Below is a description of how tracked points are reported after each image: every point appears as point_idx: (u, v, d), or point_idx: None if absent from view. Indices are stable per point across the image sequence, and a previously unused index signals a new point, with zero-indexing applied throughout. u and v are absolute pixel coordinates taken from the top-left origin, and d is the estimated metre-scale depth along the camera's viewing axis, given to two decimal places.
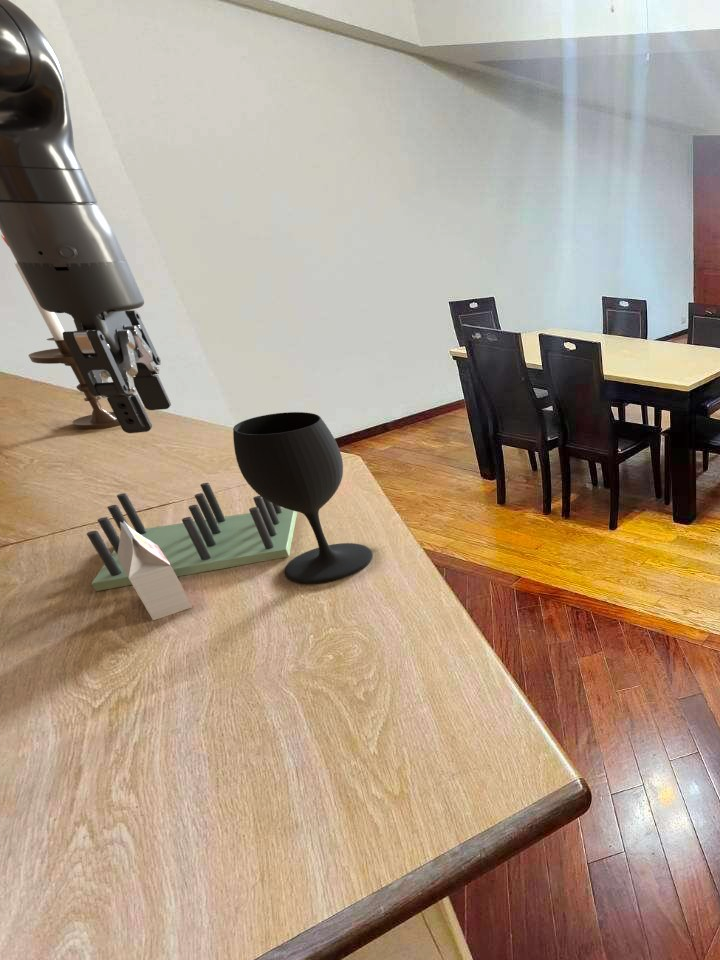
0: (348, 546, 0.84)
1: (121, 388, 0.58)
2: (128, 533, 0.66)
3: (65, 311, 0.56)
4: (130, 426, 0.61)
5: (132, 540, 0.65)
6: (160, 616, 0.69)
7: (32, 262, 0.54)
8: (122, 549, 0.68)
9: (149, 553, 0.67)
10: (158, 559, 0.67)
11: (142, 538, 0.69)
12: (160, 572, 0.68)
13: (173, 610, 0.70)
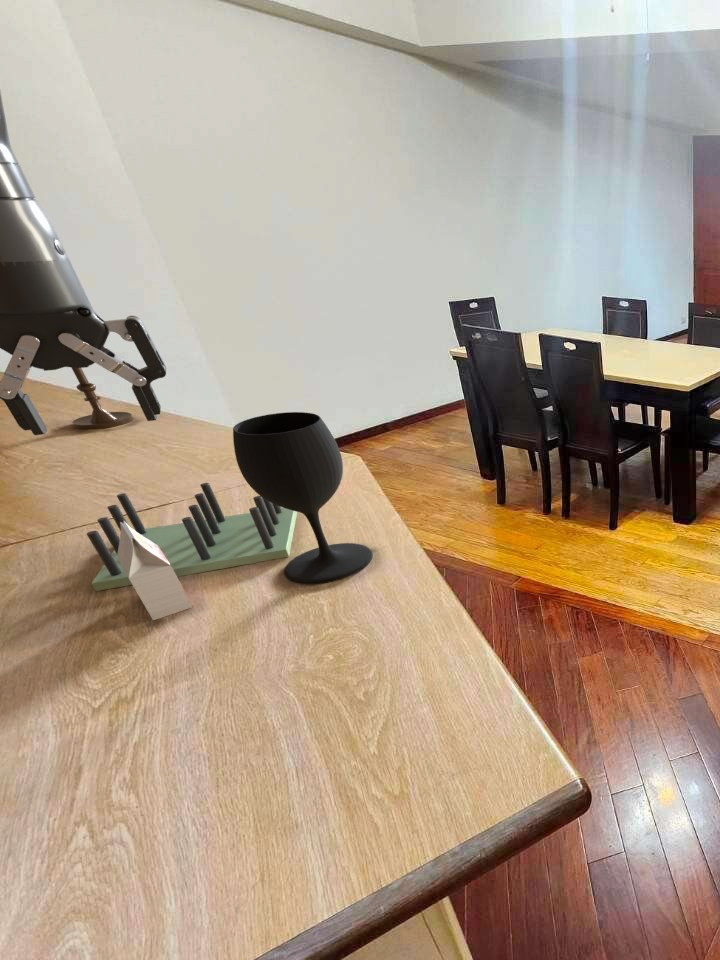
0: (348, 546, 0.84)
1: None
2: (128, 533, 0.66)
3: None
4: None
5: (132, 540, 0.65)
6: (160, 616, 0.69)
7: None
8: (122, 549, 0.68)
9: (149, 553, 0.67)
10: (158, 559, 0.67)
11: (142, 538, 0.69)
12: (160, 572, 0.68)
13: (173, 610, 0.70)
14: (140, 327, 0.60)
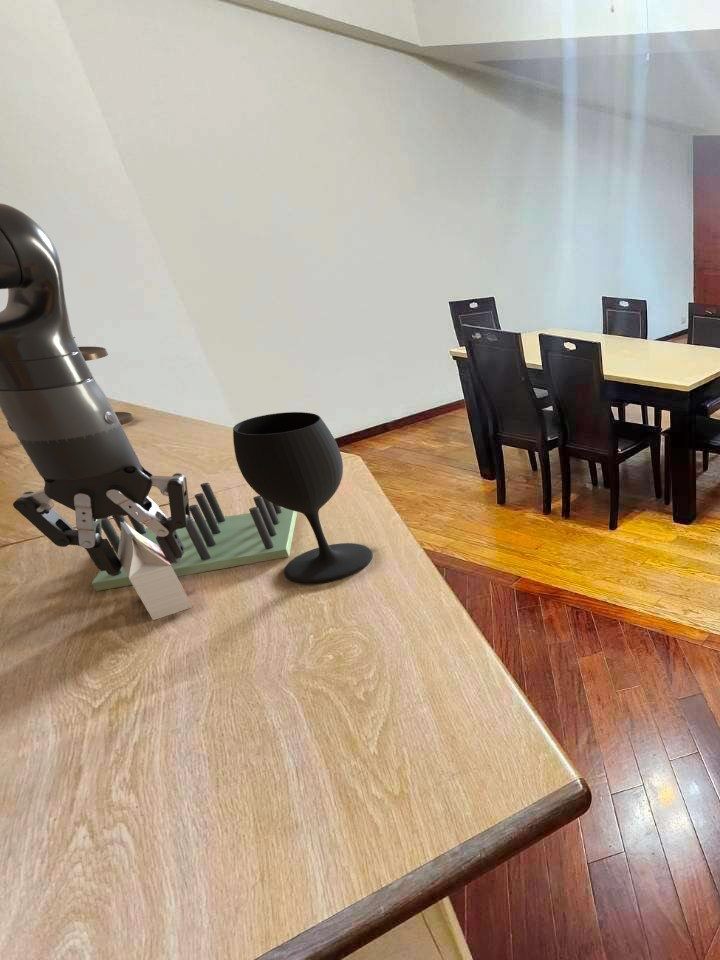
0: (348, 546, 0.84)
1: (54, 543, 0.64)
2: (128, 533, 0.66)
3: None
4: None
5: (132, 540, 0.65)
6: (160, 616, 0.69)
7: None
8: (122, 549, 0.68)
9: (149, 553, 0.67)
10: (158, 559, 0.67)
11: (142, 538, 0.70)
12: (161, 572, 0.68)
13: (172, 610, 0.70)
14: (180, 488, 0.67)
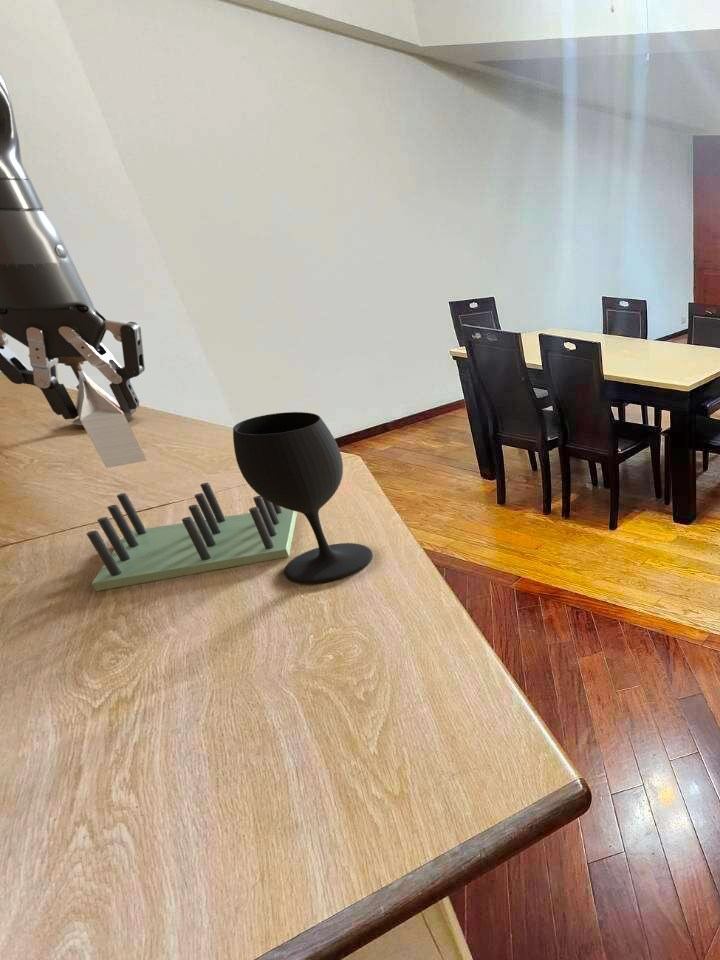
0: (348, 546, 0.84)
1: (10, 379, 0.65)
2: (82, 377, 0.68)
3: None
4: None
5: (84, 382, 0.67)
6: (113, 465, 0.71)
7: None
8: (79, 396, 0.70)
9: (101, 397, 0.68)
10: (110, 405, 0.69)
11: (99, 389, 0.71)
12: (113, 419, 0.69)
13: (126, 461, 0.72)
14: (133, 334, 0.68)
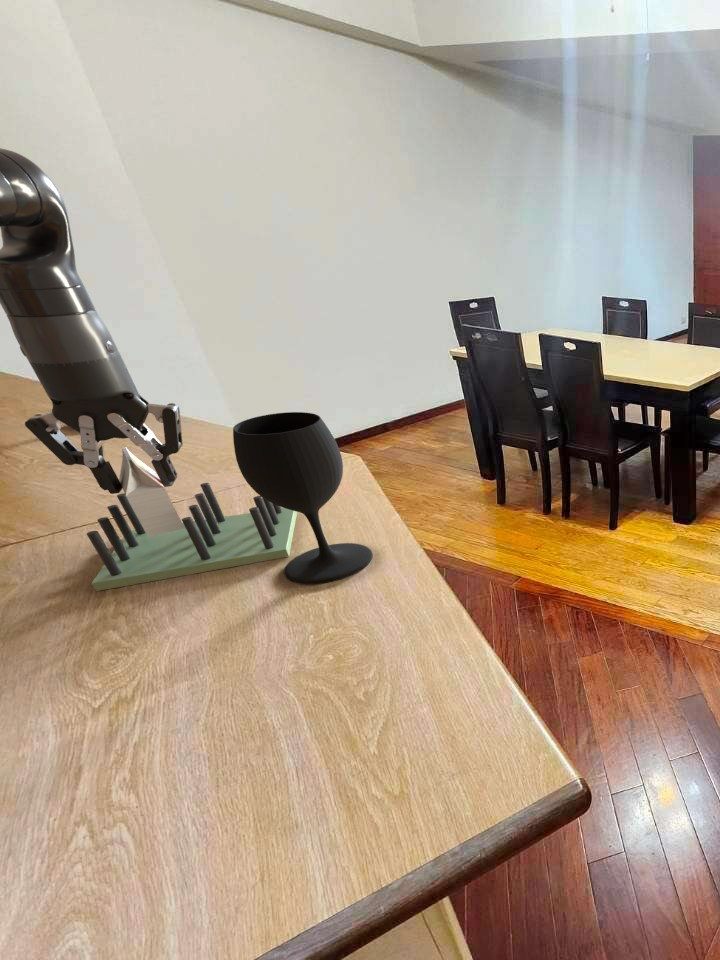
0: (348, 546, 0.84)
1: (62, 461, 0.71)
2: (127, 456, 0.74)
3: None
4: None
5: (129, 461, 0.73)
6: (154, 534, 0.77)
7: None
8: (123, 472, 0.76)
9: (144, 474, 0.74)
10: (153, 481, 0.75)
11: (141, 463, 0.77)
12: (155, 493, 0.75)
13: (166, 529, 0.77)
14: (173, 415, 0.74)
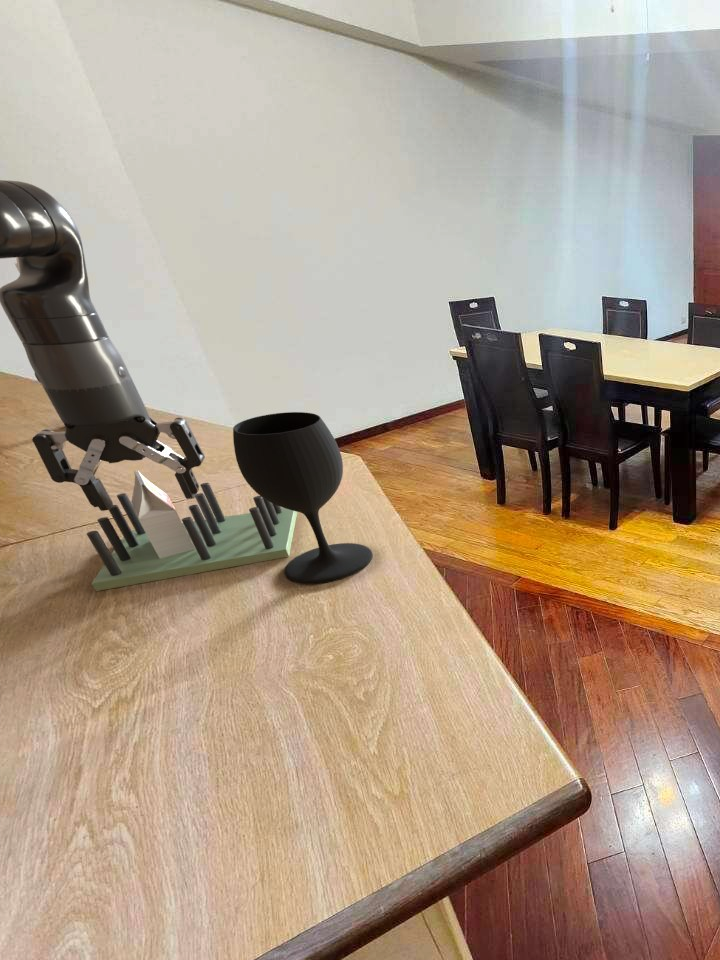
0: (348, 546, 0.84)
1: (51, 477, 0.71)
2: (139, 480, 0.76)
3: None
4: None
5: (142, 485, 0.75)
6: (166, 555, 0.78)
7: None
8: (135, 495, 0.78)
9: (156, 498, 0.76)
10: (164, 504, 0.76)
11: (153, 486, 0.79)
12: (166, 515, 0.77)
13: (177, 551, 0.79)
14: (181, 429, 0.75)
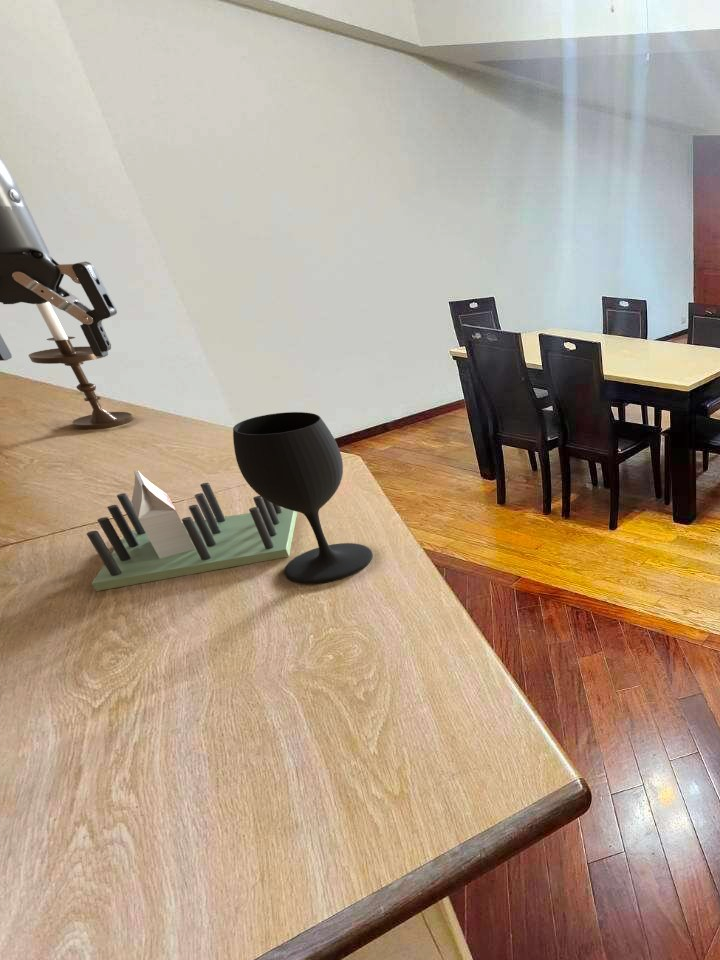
0: (348, 546, 0.84)
1: None
2: (139, 480, 0.76)
3: None
4: None
5: (142, 485, 0.75)
6: (166, 555, 0.78)
7: None
8: (135, 495, 0.78)
9: (156, 498, 0.76)
10: (164, 504, 0.76)
11: (153, 486, 0.79)
12: (166, 515, 0.77)
13: (177, 551, 0.79)
14: (86, 271, 0.68)
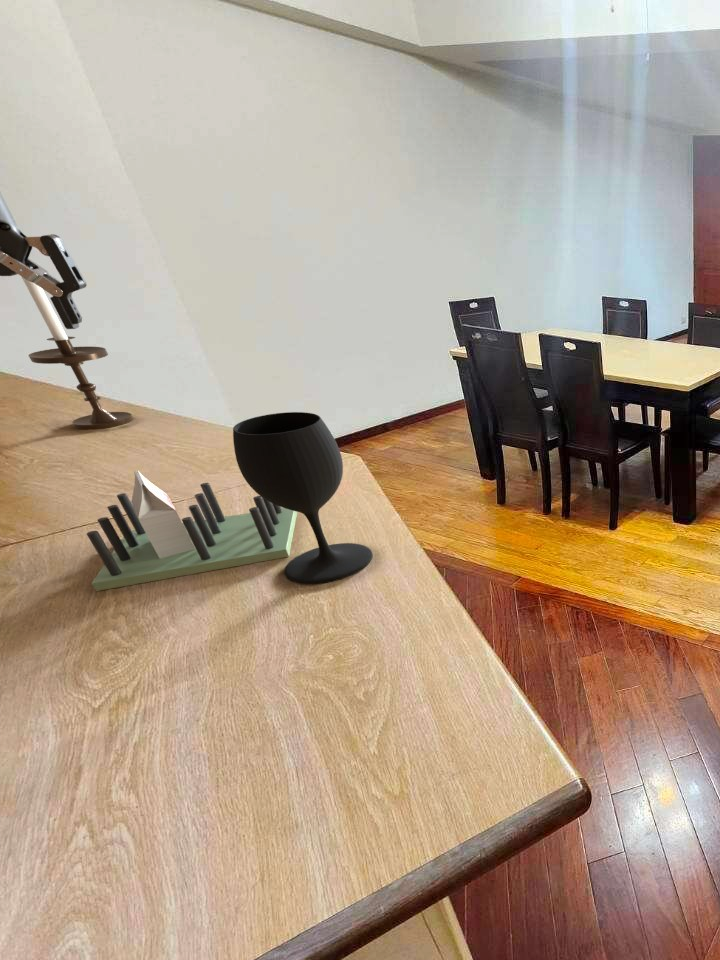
0: (348, 546, 0.84)
1: None
2: (139, 480, 0.76)
3: None
4: None
5: (142, 485, 0.75)
6: (166, 555, 0.78)
7: None
8: (135, 495, 0.78)
9: (156, 498, 0.76)
10: (164, 504, 0.76)
11: (153, 486, 0.79)
12: (166, 515, 0.77)
13: (177, 551, 0.79)
14: (54, 243, 0.69)
